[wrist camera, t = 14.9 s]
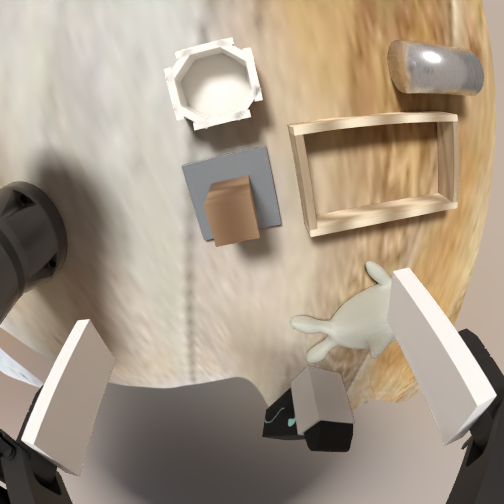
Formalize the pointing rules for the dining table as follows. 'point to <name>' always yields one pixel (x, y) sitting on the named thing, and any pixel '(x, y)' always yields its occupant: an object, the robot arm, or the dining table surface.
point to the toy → (354, 320)
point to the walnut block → (232, 211)
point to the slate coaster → (228, 168)
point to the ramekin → (213, 83)
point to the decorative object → (313, 412)
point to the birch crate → (386, 210)
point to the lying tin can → (434, 68)
